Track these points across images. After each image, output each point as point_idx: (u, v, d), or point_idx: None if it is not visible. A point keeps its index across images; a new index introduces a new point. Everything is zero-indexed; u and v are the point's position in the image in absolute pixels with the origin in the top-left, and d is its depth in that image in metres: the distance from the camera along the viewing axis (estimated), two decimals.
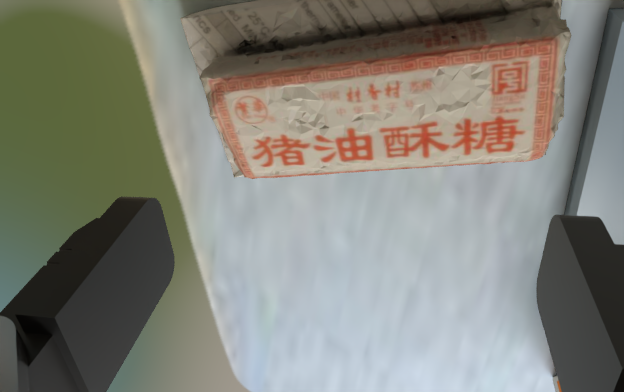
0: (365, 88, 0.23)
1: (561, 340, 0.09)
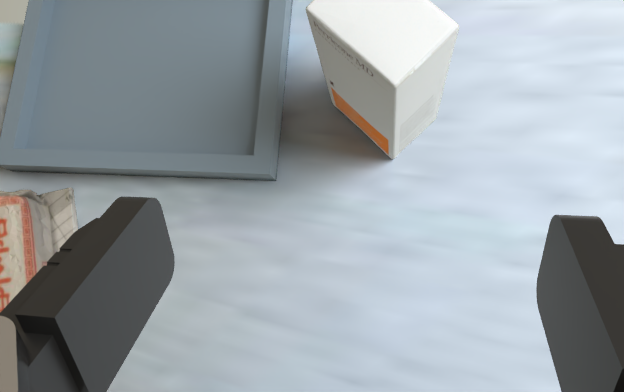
0: None
1: (561, 340, 0.09)
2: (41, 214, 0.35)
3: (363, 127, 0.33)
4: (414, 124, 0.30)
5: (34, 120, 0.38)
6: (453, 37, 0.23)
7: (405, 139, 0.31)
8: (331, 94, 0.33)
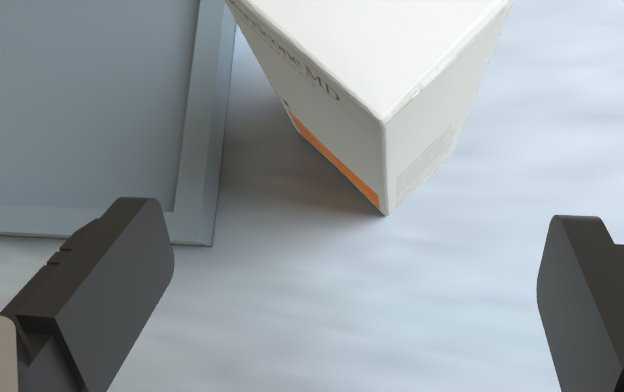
0: None
1: (561, 340, 0.09)
2: None
3: (340, 169, 0.21)
4: (420, 169, 0.19)
5: None
6: (500, 21, 0.11)
7: (405, 190, 0.20)
8: (291, 118, 0.21)
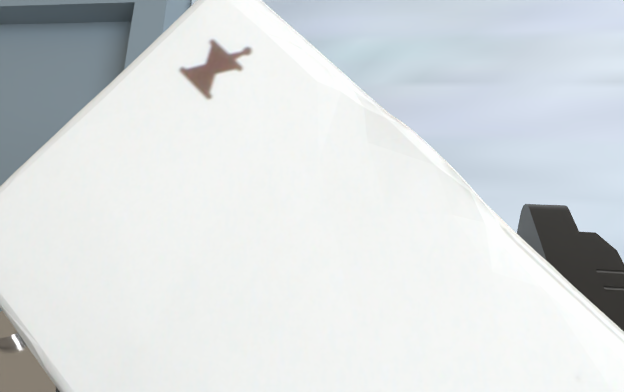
0: None
1: None
2: None
3: None
4: None
5: None
6: None
7: None
8: None
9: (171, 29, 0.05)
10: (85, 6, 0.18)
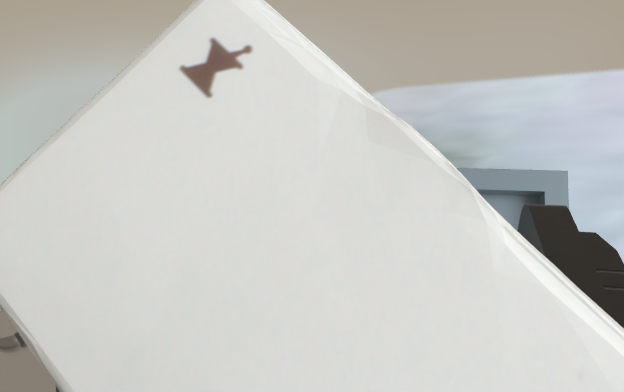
0: None
1: None
2: None
3: None
4: None
5: None
6: None
7: None
8: None
9: (171, 27, 0.05)
10: (506, 190, 0.29)
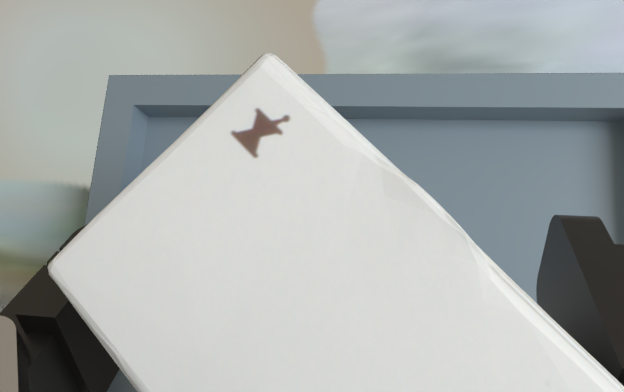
0: None
1: None
2: None
3: None
4: None
5: None
6: None
7: None
8: None
9: (223, 98, 0.07)
10: (580, 109, 0.17)
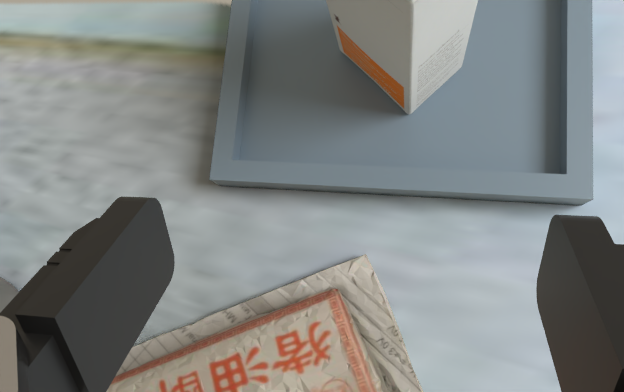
0: None
1: (561, 340, 0.09)
2: None
3: (375, 75, 0.28)
4: (435, 68, 0.25)
5: (247, 123, 0.31)
6: None
7: (424, 88, 0.26)
8: (338, 36, 0.28)
9: None
10: None
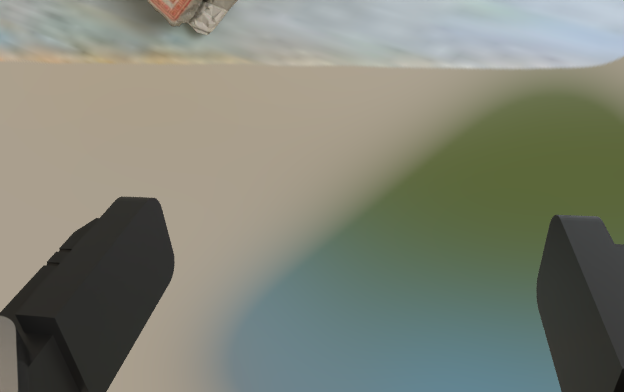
0: None
1: (561, 340, 0.09)
2: None
3: None
4: None
5: None
6: None
7: None
8: None
9: None
10: None
